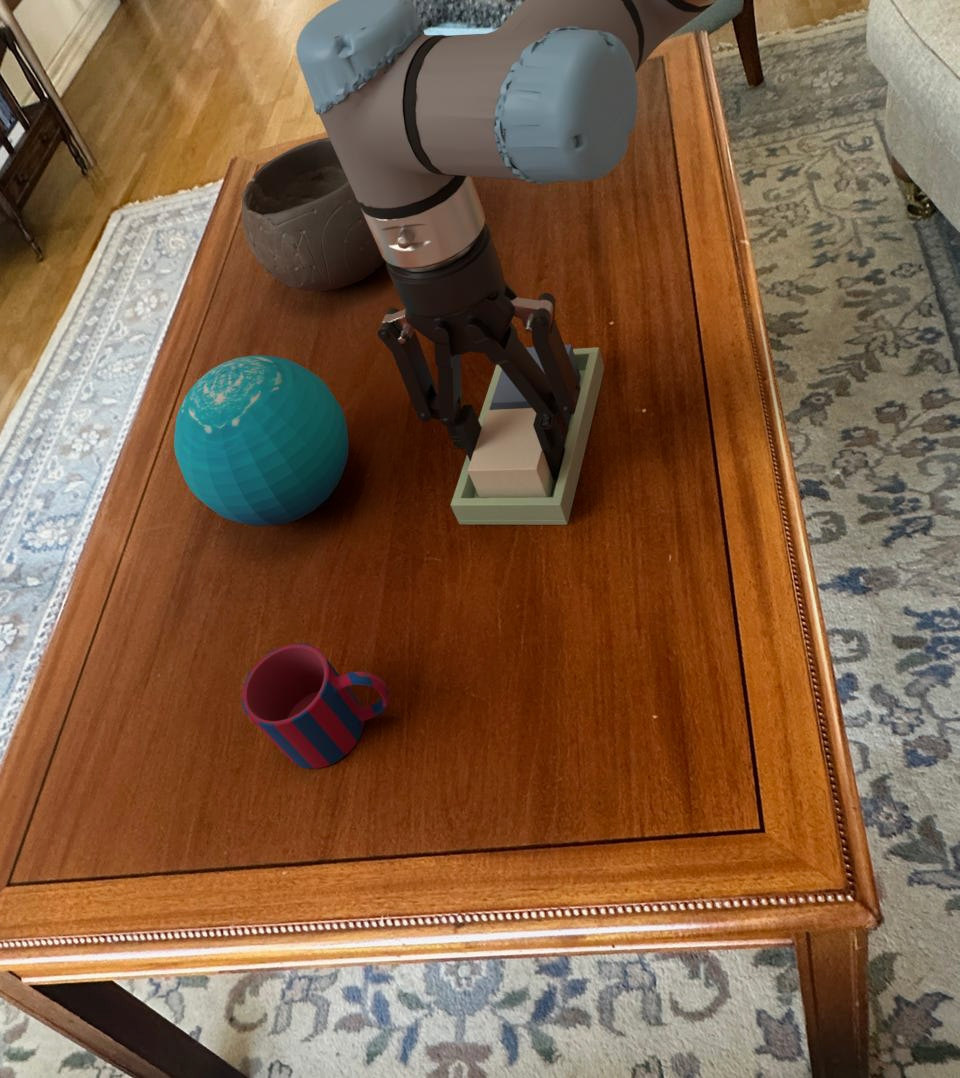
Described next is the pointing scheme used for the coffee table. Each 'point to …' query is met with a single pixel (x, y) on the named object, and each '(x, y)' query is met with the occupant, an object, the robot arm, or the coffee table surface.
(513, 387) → the blue rectangular block
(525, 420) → the beige block
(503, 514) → the tray
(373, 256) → the bowl
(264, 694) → the mug
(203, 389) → the decorative orb
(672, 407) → the coffee table surface
